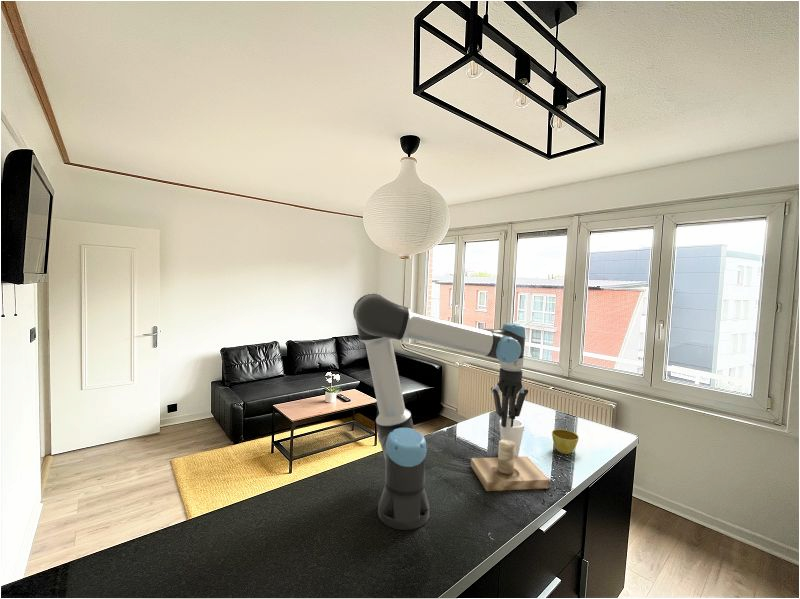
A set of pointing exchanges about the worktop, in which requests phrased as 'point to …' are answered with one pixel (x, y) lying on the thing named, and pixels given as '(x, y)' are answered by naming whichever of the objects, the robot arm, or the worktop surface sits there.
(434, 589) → the worktop surface
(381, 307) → the robot arm
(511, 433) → the foam cup
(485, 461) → the board
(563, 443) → the yellow bowl
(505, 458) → the peg
